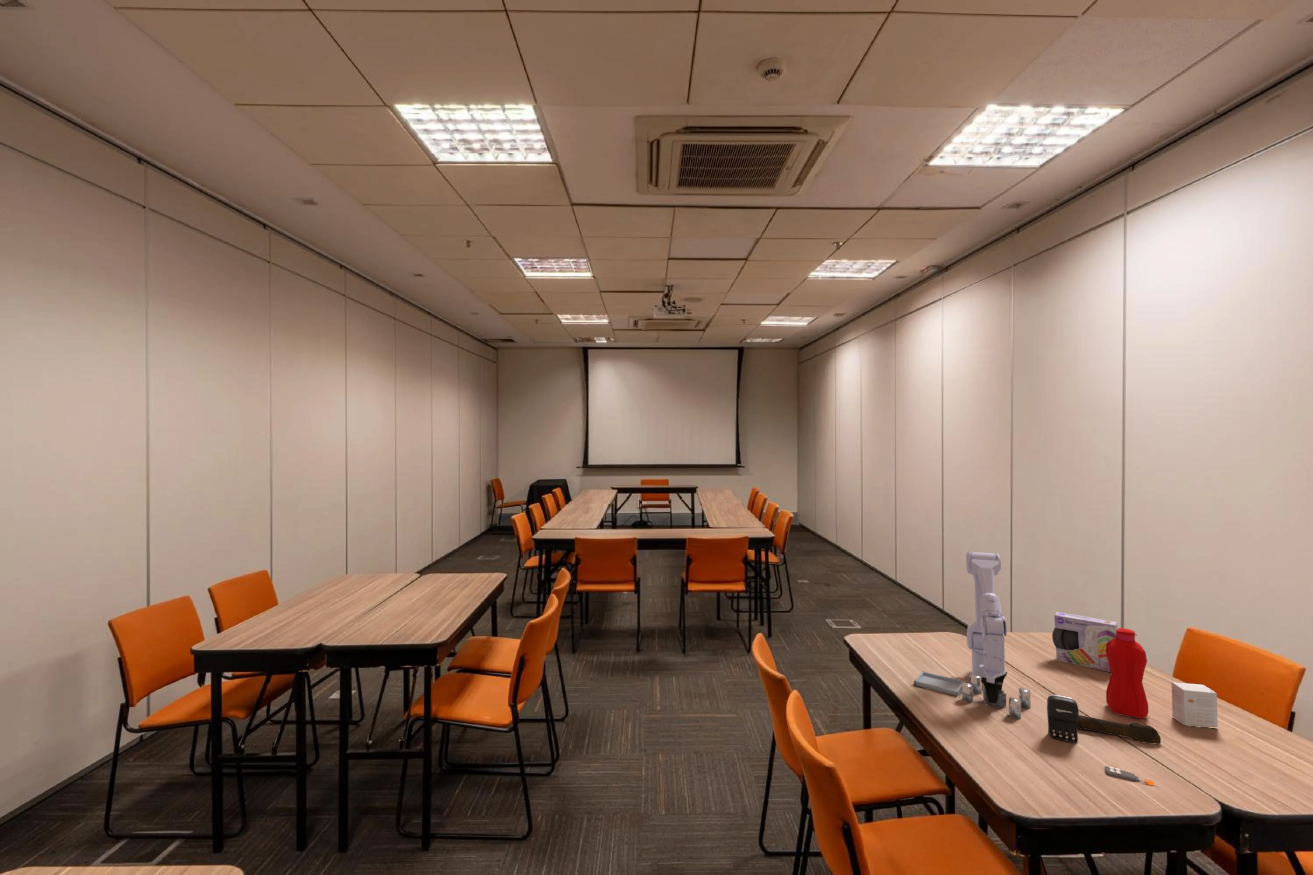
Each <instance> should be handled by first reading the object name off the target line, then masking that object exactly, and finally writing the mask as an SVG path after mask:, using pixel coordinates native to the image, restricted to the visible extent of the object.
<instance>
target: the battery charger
mask: <svg viewBox="0 0 1313 875" xmlns="http://www.w3.org/2000/svg"><path fill="white" fill-rule="evenodd" d="M1046 715H1047V716H1046V717H1047V734H1048V736H1049V737H1050V738H1052V739H1055V740H1059V741H1065V742H1069V743H1078V742H1079V741H1078V740H1079V739H1078V738H1079V735H1078V732H1079V731H1078V730H1079V728H1078V721H1079V715H1080V714H1079V706H1078V702H1077V701H1076V699H1074V698H1072V697H1070V696H1064V695H1059V694H1049V695H1048V696H1047V699H1046Z"/></svg>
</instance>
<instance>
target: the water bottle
mask: <svg viewBox="0 0 1313 875" xmlns="http://www.w3.org/2000/svg"><path fill="white" fill-rule="evenodd" d="M1136 636H1137V634H1136V632H1135V630H1132V629H1128V628H1125V627H1120V628H1118V629H1117V630H1116V635H1114V638H1112V639H1111V640H1109V641H1108V642H1107V643H1106V658H1107V659H1108V663H1109V668H1110V672H1109V673H1110V676H1109V680H1108V683H1107V688H1106V689H1105V690H1106V691H1105V692H1106V693H1105V699H1106V704H1107V706H1108V709H1110V711H1111V712H1113V713H1115V714H1117V715H1119V716H1125V717H1130V718H1131V717H1132V718H1136V719H1138V720H1139V719H1145V718H1147V717H1148V714H1149V702H1148V699H1147V695H1146V691H1145V687H1144V684H1143V680H1144V675H1145V674H1144V673H1145V671H1146V668H1147V667H1146V666H1147V663H1148V659H1147V653H1146V650H1145V649H1144V647H1143V645H1141V644H1140V643H1139V642H1137V640H1136ZM1104 646H1105V645H1104ZM1103 648H1104V647H1103ZM1102 651H1103V649H1102ZM1101 654H1102V652H1101ZM1100 657H1101V655H1100ZM1099 664H1100V660H1099ZM1100 667H1101V666H1100ZM1106 667H1107V665H1106ZM1106 667H1105V668H1106ZM1105 668H1102V669H1105Z"/></svg>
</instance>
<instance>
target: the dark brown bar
mask: <svg viewBox="0 0 1313 875" xmlns="http://www.w3.org/2000/svg"><path fill="white" fill-rule="evenodd" d="M1078 729H1080V730H1089V731H1094V732H1099V733H1104V734H1110V735H1115V736H1119V737H1124V738H1128V739H1131V740H1132V741H1133V742H1137V741H1139V742H1138V743H1143V742H1145V743H1144V744H1150V743H1156V744H1157V745H1160V744H1161V742H1162V740H1161V739H1162V738H1161V736H1160V734H1159V732H1158V730H1157V729H1156V728H1154V727H1153V726H1151V725H1147V724H1143V723H1139V722H1130V723H1129V724H1128V723H1123V722H1116V721H1111V720H1105V719H1100V718H1096V717H1091V716H1086V715H1080V714H1079V721H1078ZM1156 744H1155V745H1156Z"/></svg>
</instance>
